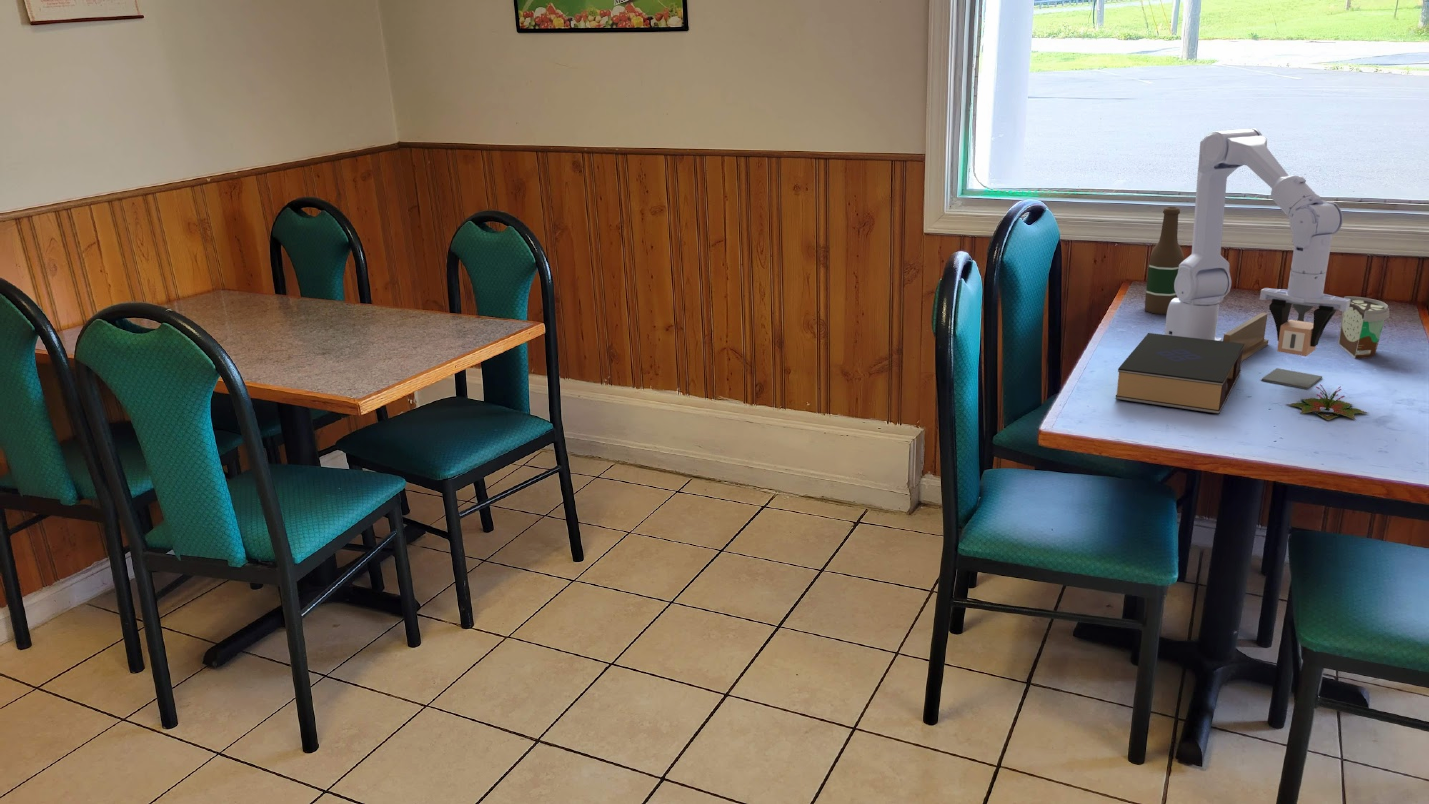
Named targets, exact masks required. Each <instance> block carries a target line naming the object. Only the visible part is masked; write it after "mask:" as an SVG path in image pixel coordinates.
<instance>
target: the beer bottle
mask: <svg viewBox="0 0 1429 804" xmlns="http://www.w3.org/2000/svg"><path fill="white" fill-rule="evenodd" d="M1162 214H1163V219H1162V225H1161V232H1160V237H1159V240H1158V242H1157V243H1156V244H1155V246H1154V247H1153V249H1152V251H1151V253H1150V256H1149V257H1150V258H1149V262H1148V269H1147V279H1146V280H1147V281H1146V287H1145V288H1146V289H1145V299H1144V300H1145V301H1144V312H1148V313H1150V314H1151V313H1152V314H1153V315H1154V314H1155V315H1167V310H1168V306H1169V304H1170V302H1171V300H1172V299H1173V298H1178V297H1177V295H1176V293H1175V289H1174V282H1175V279H1176V276H1177V274H1178V270H1179V264H1180V263H1182V262H1183V261H1184V253H1183V250H1182V248H1181V246H1180V244H1179V243H1178V241H1179V240H1178V230H1179V229H1178V228H1179V227H1178V226H1179V214H1181V209H1180V207H1178V206H1166V207H1164V208H1163V211H1162Z"/></svg>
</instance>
